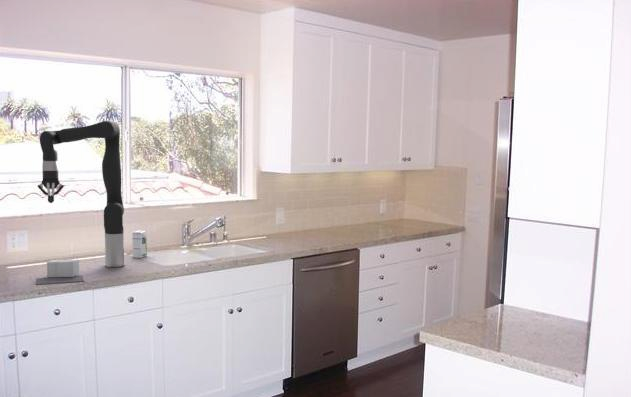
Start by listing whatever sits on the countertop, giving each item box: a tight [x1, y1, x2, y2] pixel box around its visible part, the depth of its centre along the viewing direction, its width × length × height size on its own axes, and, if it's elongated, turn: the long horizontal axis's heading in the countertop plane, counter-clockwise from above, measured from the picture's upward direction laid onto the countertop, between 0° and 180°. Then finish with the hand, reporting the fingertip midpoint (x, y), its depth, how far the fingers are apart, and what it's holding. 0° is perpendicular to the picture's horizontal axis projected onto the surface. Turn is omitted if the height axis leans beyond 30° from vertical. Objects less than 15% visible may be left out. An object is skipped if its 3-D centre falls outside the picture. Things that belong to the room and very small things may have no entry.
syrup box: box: [131, 230, 148, 259], centre depth 331 cm, size 6×6×14 cm
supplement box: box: [46, 259, 80, 277], centre depth 280 cm, size 7×7×13 cm
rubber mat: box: [35, 274, 84, 286], centre depth 273 cm, size 20×12×1 cm, turn 113°
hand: (51, 202), depth 306 cm, fingers closed
